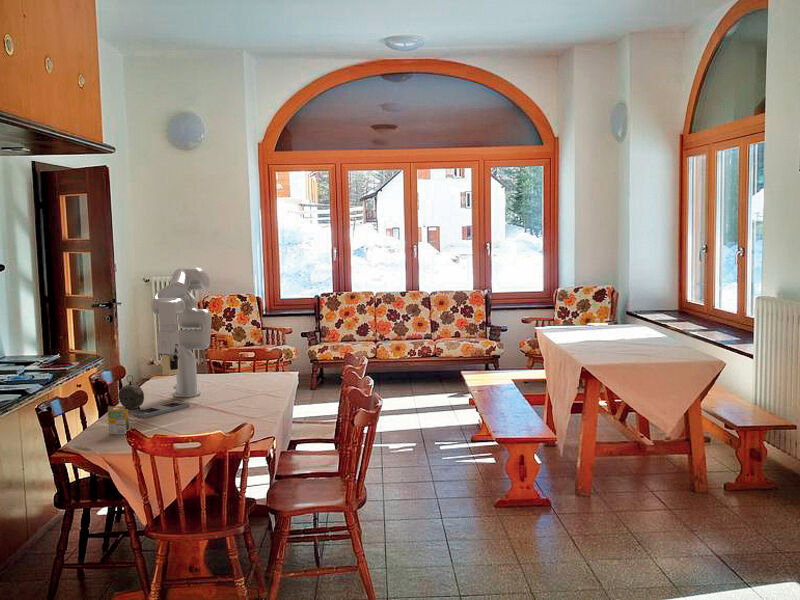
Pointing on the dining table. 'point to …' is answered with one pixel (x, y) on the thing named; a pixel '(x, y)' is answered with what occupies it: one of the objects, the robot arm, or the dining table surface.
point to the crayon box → (118, 420)
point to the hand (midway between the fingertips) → (170, 368)
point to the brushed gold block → (168, 365)
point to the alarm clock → (131, 396)
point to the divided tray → (160, 409)
